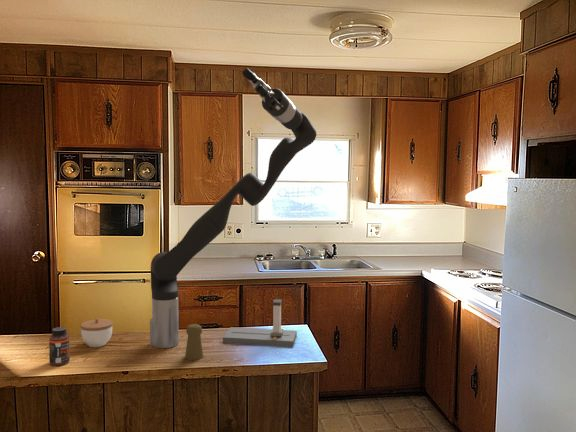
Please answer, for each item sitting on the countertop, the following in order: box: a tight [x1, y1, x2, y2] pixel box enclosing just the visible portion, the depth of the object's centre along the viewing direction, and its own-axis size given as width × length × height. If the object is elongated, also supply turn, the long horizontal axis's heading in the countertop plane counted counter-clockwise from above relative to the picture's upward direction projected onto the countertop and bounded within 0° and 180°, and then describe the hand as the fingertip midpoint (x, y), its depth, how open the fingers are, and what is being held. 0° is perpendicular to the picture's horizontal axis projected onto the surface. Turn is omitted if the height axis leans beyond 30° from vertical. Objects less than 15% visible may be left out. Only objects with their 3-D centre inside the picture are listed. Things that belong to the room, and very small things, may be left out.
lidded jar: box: [80, 318, 114, 348], centre depth 172 cm, size 11×11×9 cm
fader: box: [271, 299, 284, 336], centre depth 179 cm, size 4×5×13 cm
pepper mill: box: [184, 323, 204, 361], centre depth 161 cm, size 6×6×11 cm
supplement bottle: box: [48, 326, 71, 367], centre depth 154 cm, size 6×6×11 cm
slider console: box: [222, 326, 298, 348], centre depth 180 cm, size 26×12×2 cm, turn 83°
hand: (250, 78), depth 137 cm, fingers open, 8 cm apart
